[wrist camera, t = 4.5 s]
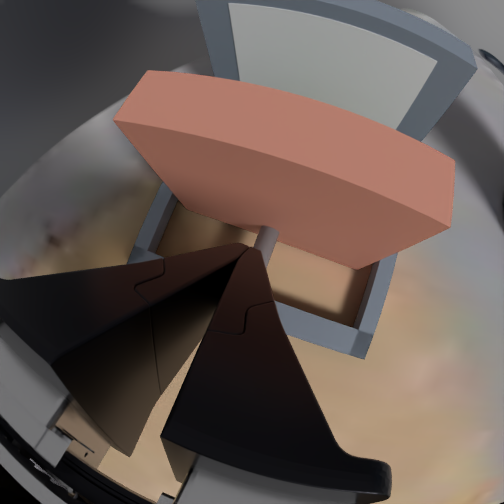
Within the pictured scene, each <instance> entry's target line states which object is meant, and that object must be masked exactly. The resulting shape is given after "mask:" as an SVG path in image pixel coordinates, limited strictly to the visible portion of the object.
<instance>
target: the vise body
mask: <svg viewBox="0 0 504 504" xmlns="http://www.w3.org/2000/svg"><path fill="white" fill-rule="evenodd" d="M196 5H197V9H198V13H199V17H200V21H201V25H202V29H203V33H204V37H205V41H206V45H207V48H208V53H209V57H210V61H211V65H212V69H213V73H214V77H218V78H224V79H230V80H236V81H241V82H246V83H251V84H256V85H261V86H265V87H270V88H274V89H278V90H282V91H286V92H290V93H293V94H297V95H301V96H304V97H308V98H311V99H314V100H317V101H321V102H324V103H327V104H330V105H333V106H336V107H339V108H342V109H345V110H347V111H350V112H353V113H355V114H358V115H361V116H363V117H366V118H368V119H371V120H373V121H376V122H378V123H381V124H383V125H385V126H388V127H390V128H392V129H394V130H397V131H399V132H401V133H403V134H405V135H407V136H410V137H412V138H414V139H416V140H418V141H420V142H421V141H422V140H423V139H424V137H425V136H426V135H427V134H428V133H429V131H430V130H431V129H432V128H433V126H434V125H435V124H436V123H437V121H438V120H439V119H440V118H441V116H442V115H443V114H444V113H445V111H446V110H447V109H448V108H449V106H450V105H451V104H452V102H453V101H454V100H455V98H456V97H457V96H458V95H459V93H460V92H461V91H462V89H463V88H464V87H465V85H466V84H467V83H468V81H469V80H470V79H471V77H472V76H473V74H474V73H475V72H476V70H477V65H476V62H475V59H474V56H473V53H472V50H471V47H470V46H469V45H468V44H466V43H464V42H463V41H461V40H459V39H458V38H456V37H454V36H453V35H451V34H449V33H447V32H446V31H444V30H442V29H440V28H438V27H436V26H434V25H432V24H430V23H428V22H426V21H424V20H422V19H420V18H418V17H416V16H414V15H411V14H409V13H407V12H404V11H402V10H400V9H397V8H395V7H392V6H390V5H387V4H384V3H382V2H379V1H376V0H196ZM177 201H178V198H177V197H176V196H175V195H174V194H173V192H172V191H171V190H170V189H169V188H168V186H167V185H166V184H165V183H164V182H162V184H161V186H160V188H159V190H158V192H157V194H156V196H155V199H154V201H153V203H152V205H151V207H150V209H149V212H148V214H147V216H146V218H145V221H144V223H143V225H142V228H141V230H140V232H139V235H138V237H137V239H136V242H135V244H134V247H133V249H132V252H131V254H130V257H129V259H128V262H127V264H132V263H139V262H144V261H150V260H155V259H159V258H162V259H163V258H164V257H162V256H159V255H157V254H155V252H156V250H157V247H158V245H159V243H160V240H161V238H162V235H163V233H164V231H165V228H166V226H167V224H168V221H169V219H170V217H171V215H172V212H173V210H174V208H175V206H176V203H177ZM397 254H398V252H397V253H395V254H393V255H390V256H388V257H386V258H384V259H381V260H379V261H377V262H374V263H373V266H372V269H371V273H370V276H369V280H368V283H367V286H366V289H365V293H364V296H363V299H362V302H361V305H360V308H359V311H358V314H357V317H356V320H355V323H354V325H353V328H352V327H349V326H346V325H343V324H340V323H337V322H334V321H331V320H328V319H325V318H322V317H319V316H316V315H313V314H311V313H308V312H305V311H302V310H299V309H296V308H294V307H291V306H288V305H285V304H283V303H280V302H277V301H275V303H276V307H277V311H278V314H279V317H280V320H281V323H282V326H283V328H284V330H285V333H286V334H287V335H290V336H293V337H296V338H299V339H301V340H304V341H307V342H310V343H313V344H316V345H319V346H322V347H325V348H329V349H332V350H335V351H338V352H341V353H344V354H348V355H351V356H354V357H358V358H361V359H365V357H366V354H367V351H368V349H369V346H370V343H371V341H372V338H373V335H374V332H375V329H376V326H377V323H378V320H379V317H380V314H381V311H382V308H383V305H384V302H385V298H386V295H387V292H388V288H389V285H390V281H391V277H392V274H393V270H394V266H395V262H396V258H397Z"/></svg>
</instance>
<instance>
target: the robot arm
mask: <svg viewBox="0 0 504 504" xmlns="http://www.w3.org/2000/svg"><path fill="white" fill-rule="evenodd" d="M201 339H202V341H201ZM200 341H201V343H200V345H199V348H198V350H197V352H196V354H195V357H194V359H193V361H192V363H191V366H190V368H189V370H188V373H187V375H186V377H185V379H184V382H183V384H182V386H181V389H180V391H179V393H178V396H177V398H176V400H175V402H174V405H173V407H172V409H171V412H170V414H169V416H168V419H167V421H166V423H165V426H164V428H163V430H162V433H161V435H160V438H161V441H162V443H163V446H164V449H165V452H166V455H167V457H168V460H169V463H170V465H171V468H172V470H173V473H174V475H175V478H176V480H177V481H179V482H181V483H182V485H181V487H180V489H179V491H178V493H177V495H176V497H173V496H170V495H168V494H166V493H162V494H161V496H160V498H159V500H158V502H157V503H156V502H154V501H152V500H150V499H148V498H146V497H144V496H142V495H140V494H138V493H136V492H134V491H132V490H131V489H129V488H127V487H125V486H123V485H122V484H120V483H118V482H116V481H115V480H113V479H111V478H110V477H108V476H107V475H105V474H103V473H102V472H100V471H99V470H97V468H98V466H99V465H100V463H101V461H102V460H103V458H104V456H105V455H106V453H107V451H108V450H109V448H110V446H111V447H113V448H115V449H116V450H118V451H120V452H121V453H123V454H125V455H127V456H128V457H130V456H131V455H132V453H133V450H134V448H135V446H136V444H137V442H138V439H139V437H140V435H141V433H142V431H143V428H144V426H145V424H146V422H147V420H148V417H149V415H150V413H151V411H152V409H153V407H154V406H155V404H156V402H157V401H158V399H159V398H160V396H161V395H162V394H163V392H164V391H165V389H166V388H167V387H168V385H169V384H170V382H171V381H172V380H173V378H174V377H175V376H176V374H177V373H178V371H179V370H180V369H181V367H182V366H183V364H184V363H185V362H186V360H187V359H188V357H189V356H190V355H191V353H192V352H193V350H194V349H195V348H196V346H197V345H198V343H199V342H200ZM30 458H31V459H32V460H33V461H34V462H35V463H37V464H38V465H39V466H40V467H41V468H42V469H43V470H45V471H46V472H47V473H48V474H49V475H50V476H52V477H53V478H54V479H55V480H57V481H58V482H59V483H60V484H62V485H63V486H64V487H66V488H67V489H68V490H65V489H64V488H62V487H60V486H58V485H56V484H54V483H52V482H51V481H50V480H51V478H50V477H49V476H48V475H47V474H45V473H43V472H41V471H40V470H38V469H36V468H35V467H34V466H35V464H34V463H33V462H32V461H31V460H30ZM391 488H392V473H391V468H390V466H389V465H388V464H387V463H385V462H383V461H379V460H374V459H368V458H361V457H356V456H352V455H350V454H348V453H346V452H345V451H344V450H343V449H342V448H340V447H339V445H338V443H337V442H336V440H335V438H334V436H333V434H332V431H331V429H330V427H329V425H328V423H327V421H326V419H325V417H324V414H323V412H322V410H321V408H320V406H319V404H318V402H317V399H316V397H315V395H314V393H313V391H312V389H311V387H310V384H309V382H308V380H307V378H306V376H305V374H304V372H303V369H302V367H301V365H300V363H299V361H298V359H297V356H296V354H295V352H294V350H293V348H292V346H291V344H290V341H289V339H288V337H287V335H286V333H285V330H284V328H283V326H282V323H281V320H280V317H279V314H278V311H277V307H276V303H275V301H274V297H273V293H272V289H271V286H270V282H269V278H268V274H267V271H266V267H265V263H264V259H263V255H262V252H261V250H258V249H255V248H253V247H250V248H249V246H247V245H244V244H242V243H233V244H229V245H224V246H219V247H214V248H209V249H204V250H199V251H195V252H190V253H185V254H180V255H175V256H171V257H166V258H163V259H162V258H159V259H155V260H150V261H144V262H139V263H132V264H126V265H118V266H111V267H103V268H95V269H88V270H80V271H73V272H65V273H57V274H50V275H42V276H35V277H27V278H20V279H12V280H6V279H1V278H0V504H370V503H375V502H380V501H384V500H387V499H388V498H389V497H390V495H391ZM500 504H504V502H503V503H500Z"/></svg>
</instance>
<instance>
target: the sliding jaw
mask: <svg viewBox="0 0 504 504" xmlns="http://www.w3.org/2000/svg"><path fill="white" fill-rule="evenodd" d="M113 121H114V122H115V123H116V124H117V126H118V127H119V128H120V129H121V131H122V132H123V133H124V134H125V136H126V137H127V138H128V139H129V141H130V142H131V143H132V144H133V145H134V147H135V148H136V149H137V150H138V151H139V153H140V154H141V155H142V156H143V158H144V159H145V160H146V161H147V162H148V164H149V165H150V166H151V167H152V168H153V170H154V171H155V172H156V173H157V174H158V176H159V177H160V178H161V179H162V180H163V182H164V183H165V184H166V185H167V186H168V188H169V189H170V190H171V191H172V192H173V194H174V195H175V196H176V197H177V198H178V199H179V201H180V202H181V203H182V204H183V205H184V207H185V208H186V209H187V210H190V211H193V212H196V213H199V214H202V215H204V216H207V217H210V218H213V219H216V220H219V221H222V222H225V223H228V224H231V225H233V226H236V227H239V228H242V229H245V230H248V231H251V232H253V233H256V234H258V236H257V239H256V241H255V244H254V247H253V248H255V249H258V250H261V252H262V255H263V259H264V263H265V267H266V268H267V265H268V262H269V260H270V257H271V254H272V252H273V249H274V246H275V244H276V241H279V242H281V243H284V244H287V245H290V246H293V247H295V248H298V249H301V250H304V251H306V252H309V253H312V254H315V255H317V256H320V257H323V258H326V259H328V260H331V261H334V262H336V263H339V264H342V265H344V266H347V267H350V268H353V269H355V270H358V269H360V268H363V267H365V266H367V265H370V264H372V263H374V262H377V261H379V260H381V259H384V258H386V257H388V256H390V255H393V254H395V253H397V252H399V251H402V250H404V249H406V248H408V247H410V246H413V245H415V244H417V243H419V242H421V241H423V240H425V239H428V238H430V237H432V236H434V235H436V234H438V233H440V232H442V231H444V230H446V229H448V228H450V227H451V218H452V209H453V197H454V180H455V160H453V159H451V158H450V157H448V156H446V155H444V154H443V153H441V152H439V151H437V150H435V149H433V148H431V147H430V146H428V145H426V144H424V143H422V142H420V141H418V140H416V139H414V138H412V137H410V136H407V135H405V134H403V133H401V132H399V131H397V130H394V129H392V128H390V127H388V126H385V125H383V124H381V123H378V122H376V121H373V120H371V119H368V118H366V117H363V116H361V115H358V114H355V113H353V112H350V111H347V110H345V109H342V108H339V107H336V106H333V105H330V104H327V103H324V102H321V101H317V100H314V99H311V98H308V97H304V96H301V95H297V94H293V93H290V92H286V91H282V90H278V89H274V88H270V87H265V86H261V85H256V84H251V83H246V82H241V81H236V80H230V79H224V78H218V77H211V76H204V75H197V74H188V73H178V72H166V71H147V72H146V73H145V75H144V76H143V77H142V79H141V80H140V81H139V83H138V84H137V85H136V87H135V88H134V90H133V91H132V92H131V93H130V95H129V96H128V98H127V99H126V101H125V102H124V103H123V105H122V106H121V108H120V109H119V111H118V112H117V114H116V115H115V117H114V119H113Z"/></svg>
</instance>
